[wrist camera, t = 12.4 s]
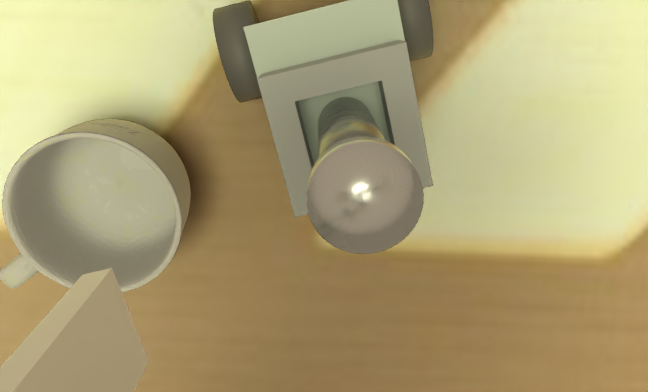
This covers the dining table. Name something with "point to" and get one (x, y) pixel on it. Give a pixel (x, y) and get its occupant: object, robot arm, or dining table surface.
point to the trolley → (328, 74)
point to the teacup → (96, 205)
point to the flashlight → (360, 182)
